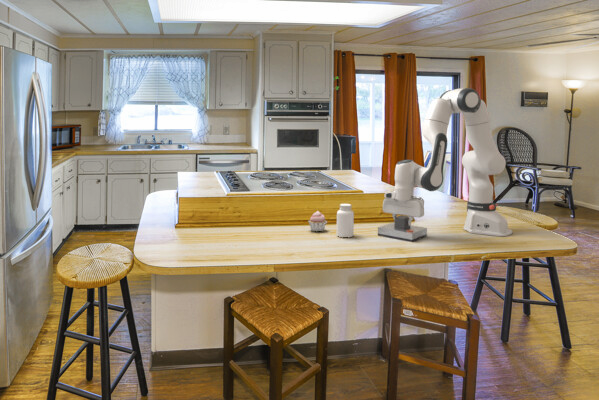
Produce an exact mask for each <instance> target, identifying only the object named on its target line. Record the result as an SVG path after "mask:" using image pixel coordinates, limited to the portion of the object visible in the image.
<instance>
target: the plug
mask: <svg viewBox="0 0 599 400" xmlns="http://www.w3.org/2000/svg"><path fill="white" fill-rule="evenodd" d="M409 219H410V218H409V216H405V215H397V216H396V217H395V224H394V228H398V229H403V230H405V229H407V228H410V226H409V225H406V224H407V221H409Z"/></svg>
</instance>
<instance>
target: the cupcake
mask: <svg viewBox="0 0 599 400" xmlns="http://www.w3.org/2000/svg"><path fill="white" fill-rule="evenodd" d="M307 222H308V223H309V227H310V231H311V230H312V231H311V232H313V231H323V232H324V231H325V228H326V225H327V224H328V221H327V220H326V218H325V215H324V213H321V212H320V211H319V210H316V212H314V213H313V214H312V215H311V217H309V220H308V221H307Z"/></svg>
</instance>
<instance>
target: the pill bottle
mask: <svg viewBox="0 0 599 400" xmlns="http://www.w3.org/2000/svg"><path fill="white" fill-rule="evenodd" d="M354 218H355V213H354V210H352V204H351V203H340V204H339V210H337V212H336V236H337V237H338V236H339V237H338V238H343V237H348V238H351V237H354V231H355V230H354V226H355V225H354V224H355V223H354V222H355V219H354Z"/></svg>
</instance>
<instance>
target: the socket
mask: <svg viewBox="0 0 599 400" xmlns="http://www.w3.org/2000/svg"><path fill="white" fill-rule="evenodd" d="M394 224H395V223H394V222H390V223H386V224H384V225H380V226H378V227H377V236H378V237H383V238H389V239H395V240H400V241H405V242H410V243H413V242H416V241H418V240H421V239H423V238H426V237H427V235H428V228H427V227H424V226H423V227H422V226H419V225H418V226H417V225H412V224H411V225H410V228H407V229H405V230H403V229H398V228H394Z"/></svg>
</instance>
